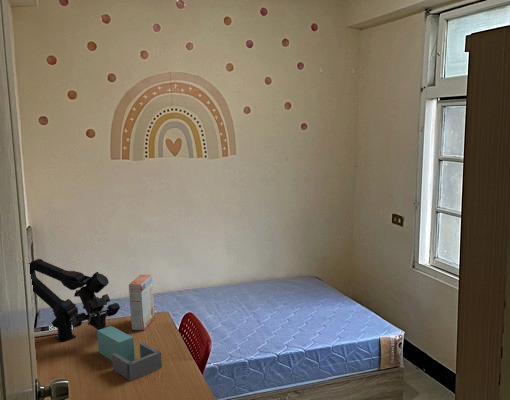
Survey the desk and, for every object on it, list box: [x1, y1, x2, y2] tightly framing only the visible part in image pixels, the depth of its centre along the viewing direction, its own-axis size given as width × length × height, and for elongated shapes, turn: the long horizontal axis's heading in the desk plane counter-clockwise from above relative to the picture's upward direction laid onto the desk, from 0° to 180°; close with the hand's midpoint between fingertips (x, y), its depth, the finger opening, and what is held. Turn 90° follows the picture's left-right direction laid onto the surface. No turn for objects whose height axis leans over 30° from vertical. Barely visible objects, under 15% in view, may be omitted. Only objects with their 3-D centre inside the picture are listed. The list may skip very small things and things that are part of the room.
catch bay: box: [111, 342, 163, 382], centre depth 180 cm, size 12×13×6 cm
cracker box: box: [128, 274, 155, 331], centre depth 219 cm, size 14×6×21 cm, turn 172°
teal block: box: [96, 325, 136, 362], centre depth 190 cm, size 16×6×9 cm, turn 46°
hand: (104, 333), depth 196 cm, fingers closed, pressing on teal block
